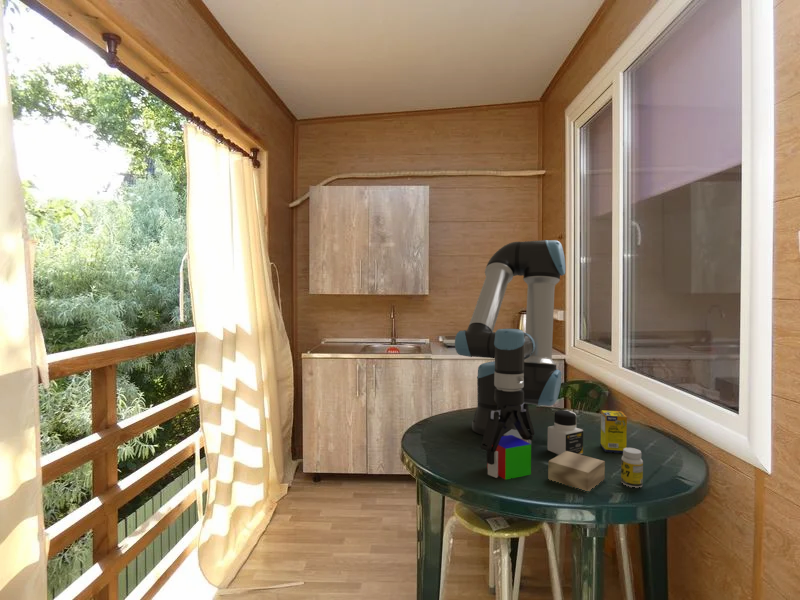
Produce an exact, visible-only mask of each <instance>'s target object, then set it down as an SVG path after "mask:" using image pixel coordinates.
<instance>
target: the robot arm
mask: <svg viewBox="0 0 800 600" xmlns="http://www.w3.org/2000/svg"><path fill="white" fill-rule="evenodd" d="M484 274H485V278H484V280H483V284H482V287H481V290H480V292H479V295H478V298H477V302H476V304H475V307H474V310H473V312H472V316H471V319H470V321H469V324H468V326H467V329H466V330H459V331H458V332H457V333H456V335H455V337H454V348H455V351H456V354H458V355H460V356H463V357H468V358H474V357H475V358H488V359H489V358H490V359H494V361H489V362H488V361H487V362H484V363H481V364H479V365H478V367H477V376H476V379H477V382H476V384H477V385H476V387H477V388H476V389H477V396H476V397H477V398H476V399H477V403H476V405H477V406H476V410H475V413H474V415H473V416H474V417H473V419H472V422H471V430H472V431H473V432H474V433H476V434H478V435H480V436H482V439H481V443H480V449H482V450H484V451H486V464H487V463H488V468H487V475H488V476H490V477H493V478H496V479H497V478H499V475H498V451H496V449H497V446H498V444H499V442H500V439H501V437H502V436H504V434H505V433H507V432H508V431H510V430H511V429H513V430H517V431H518V432H519V434H520V436H521V437H522V438H519V439H521V440H523V441H525V442H528V443H529V440H531V441H533V440H534V436H535V433H536V432H535V430H534V426H533V423H532V418H531V416H530V412H529V411H530V410H529V405H536V406H538V407H539V406H543V407H544V406H546V407H551V406H553V405H555V404H556V402H557V401H558V398H559V395H560V390H561V384H562V370H560V369H557V363H556V362H555V361H554V360H553V358H552V357H553V334H554V333H553V332H554V314H555V313H554V312H555V311H554V310H555V291H556V290H555V288H556V285H557V284H558V283H559V282H560V281H561V277H562V276H564V275H565V274H566V258H565V253H564V249H563V245H562V243H561V242H560V241H558V240H557V239H553V240H552V239H551V240H549V239H548V240H547V239H543V240H542V239H541V240H528V241H527V240H526V241H513V242H510V243H507V244H506V245H504V246H502V247H501V248H499V249H498V250H497V251H496V252H495V253H494V254H493V255H492V256H491V258H489V260H488V262H487V263H486V267H485V270H484ZM516 276H519V277H520V276H523V278H522V279H523V281H524V283H525V284H526V285H527V295H526V315H525V332H524V331H523V330H522V329H518V328H498V329H497V330H495V326H496V324H497V320H498V317H499V314H500V310H501V306H502V304H503V300H504V298H505V293H506V292H507V287H508V284H510V282H511V281H512V280H513V279H514V277H516ZM494 330H495V332H494ZM492 445H493V447H492Z"/></svg>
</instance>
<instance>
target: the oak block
mask: <svg viewBox="0 0 800 600" xmlns="http://www.w3.org/2000/svg"><path fill="white" fill-rule="evenodd" d="M605 465H606V461H605V460H602V459H598V458H595V457H591V456H588V455H587V456H586V455H583V454H576V453H573V452H569V451H565V452H563V453H562V454H560V455H558V454H557V455H556V456H555V457H553V458H551V459H549V460H548V465H547V466H548V467H547V469H548V471H547V477H548V478H547V479H549V480H548V481H551V480H552V482H554V481H556V482H555V483H557V482H559V483H558V484H560V483H562V484H561V485H563V484H565V485H564V486H567V485H569V486H568V487H570V486H572V487H571V488H573V487H575V488H574V489H576V488H579V489H582V490H585V491H589V492H591V491H592V490H593V489H595V488H596V487H597V486H598V485H600V484H601V483H602V482H604V481H605V480H604V479H605V478H606V477H605V476H606V475H605V474H606V473H605V472H606V466H605ZM603 480H604V481H603ZM601 481H602V482H601ZM600 482H601V483H600ZM599 483H600V484H599ZM596 485H597V486H596ZM595 486H596V487H595ZM592 488H593V489H592ZM579 489H578V490H579ZM591 489H592V490H591ZM582 490H581V491H582ZM585 491H584V492H585Z"/></svg>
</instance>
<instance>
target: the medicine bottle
mask: <svg viewBox="0 0 800 600" xmlns="http://www.w3.org/2000/svg"><path fill="white" fill-rule="evenodd" d="M553 418H554V419H553V420H554V422H553V423H554V425H550V426H547V451H548V452H551V453H553V454H556V455H557V456H558V455H560V454H562V453H563V452H565V451H569V452H573V453H576V454H580V455H583V454H584V429H583V428H578V427H577V414H576V413H575V412H574V411H572V410H567V409H560V410H559V409H558V410H557V411H555V412H554V417H553Z"/></svg>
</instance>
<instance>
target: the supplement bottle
mask: <svg viewBox="0 0 800 600" xmlns="http://www.w3.org/2000/svg"><path fill="white" fill-rule="evenodd" d="M620 460H621V461H620V462H621V463H620V464H621V465H620V483H621V484H622V483H623V485H624V486H625V485H626V487H628V486H629V487H628V488H632V487H635V488H634V489H639V487H640V488H642V487H643V483H644V482H643V481H644V478H643V477H644V476H643V475H644V461H643V459H642V450H640V449H638V448H634V447H627V448H624V449H623V453H622V456H621V459H620Z"/></svg>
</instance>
